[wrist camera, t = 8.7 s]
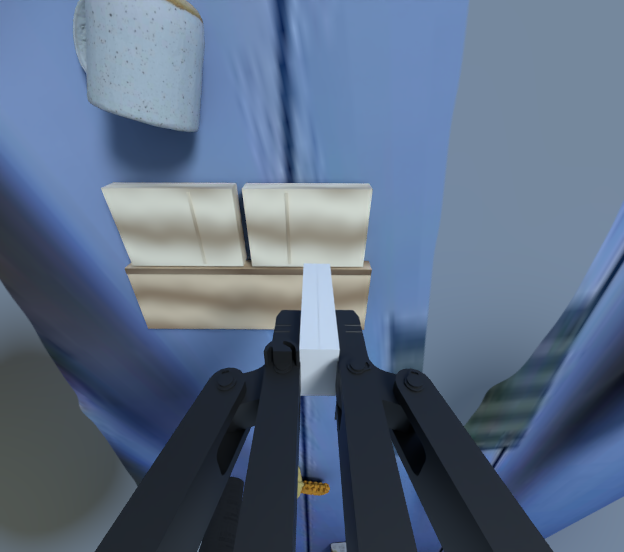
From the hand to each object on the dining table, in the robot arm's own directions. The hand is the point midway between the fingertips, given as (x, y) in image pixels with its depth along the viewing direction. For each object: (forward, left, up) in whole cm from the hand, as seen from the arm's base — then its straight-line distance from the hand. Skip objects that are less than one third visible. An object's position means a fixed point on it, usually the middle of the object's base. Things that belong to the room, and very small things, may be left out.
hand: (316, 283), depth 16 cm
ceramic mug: (-12, -14, -16) cm, 24 cm away
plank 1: (+2, -14, -15) cm, 21 cm away
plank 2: (+2, -1, -15) cm, 16 cm away
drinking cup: (+62, -17, -16) cm, 66 cm away
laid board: (+11, -7, -16) cm, 21 cm away
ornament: (+58, -2, -16) cm, 60 cm away
